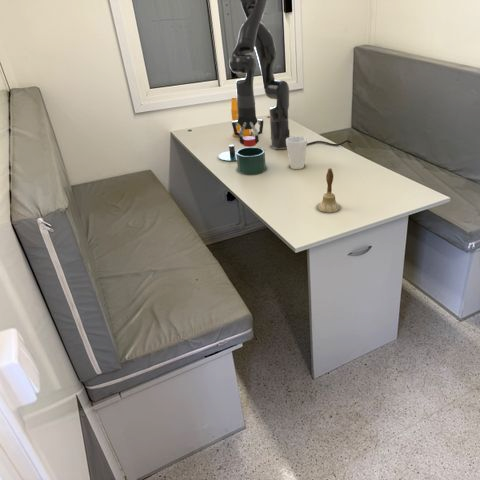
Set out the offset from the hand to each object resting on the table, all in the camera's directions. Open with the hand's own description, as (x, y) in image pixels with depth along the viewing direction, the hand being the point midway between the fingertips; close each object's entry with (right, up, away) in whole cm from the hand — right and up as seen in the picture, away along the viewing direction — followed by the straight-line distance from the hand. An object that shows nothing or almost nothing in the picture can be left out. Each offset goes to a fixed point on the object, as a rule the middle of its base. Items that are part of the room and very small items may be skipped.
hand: (249, 143), depth 192 cm
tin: (0, -10, +6) cm, 12 cm away
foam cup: (+21, -9, +9) cm, 24 cm away
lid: (-11, -2, +19) cm, 22 cm away
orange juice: (-12, +16, +50) cm, 54 cm away
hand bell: (+35, -31, -26) cm, 53 cm away
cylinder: (0, 0, 0) cm, 0 cm away
